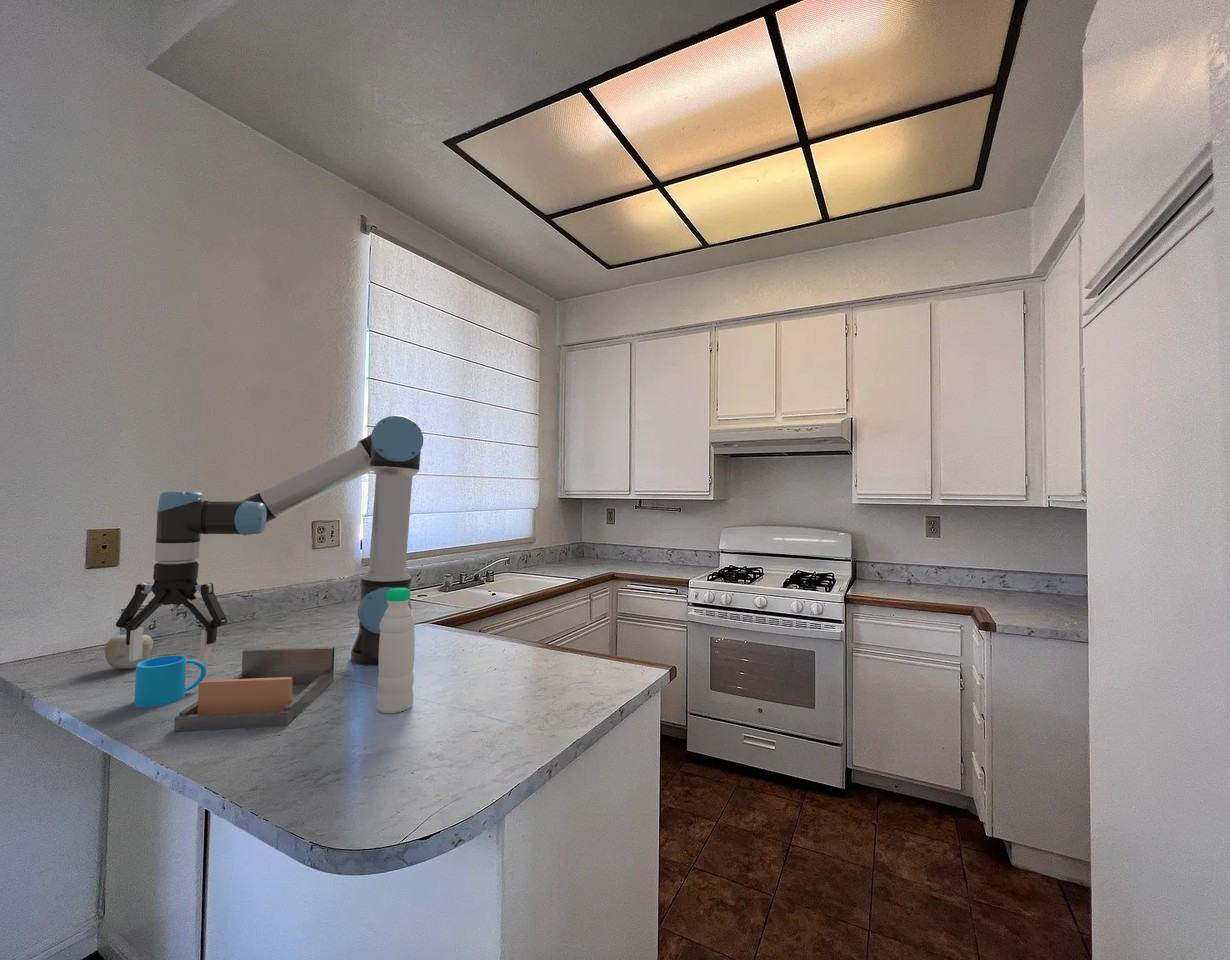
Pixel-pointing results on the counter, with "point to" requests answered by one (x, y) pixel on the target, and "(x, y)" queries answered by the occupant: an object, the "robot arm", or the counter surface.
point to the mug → (163, 680)
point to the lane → (270, 664)
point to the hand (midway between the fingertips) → (170, 659)
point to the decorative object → (125, 652)
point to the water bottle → (396, 654)
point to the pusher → (244, 695)
